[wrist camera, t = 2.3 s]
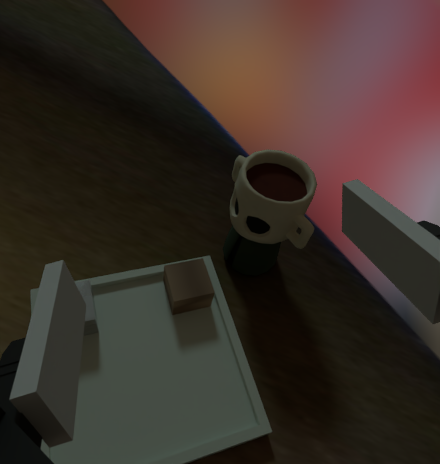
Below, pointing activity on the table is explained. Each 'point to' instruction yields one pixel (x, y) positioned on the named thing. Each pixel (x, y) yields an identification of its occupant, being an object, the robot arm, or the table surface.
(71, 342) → the robot arm
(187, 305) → the walnut block
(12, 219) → the table surface
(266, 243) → the character mug
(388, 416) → the table surface
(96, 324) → the grey metal block
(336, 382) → the table surface
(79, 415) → the tray
